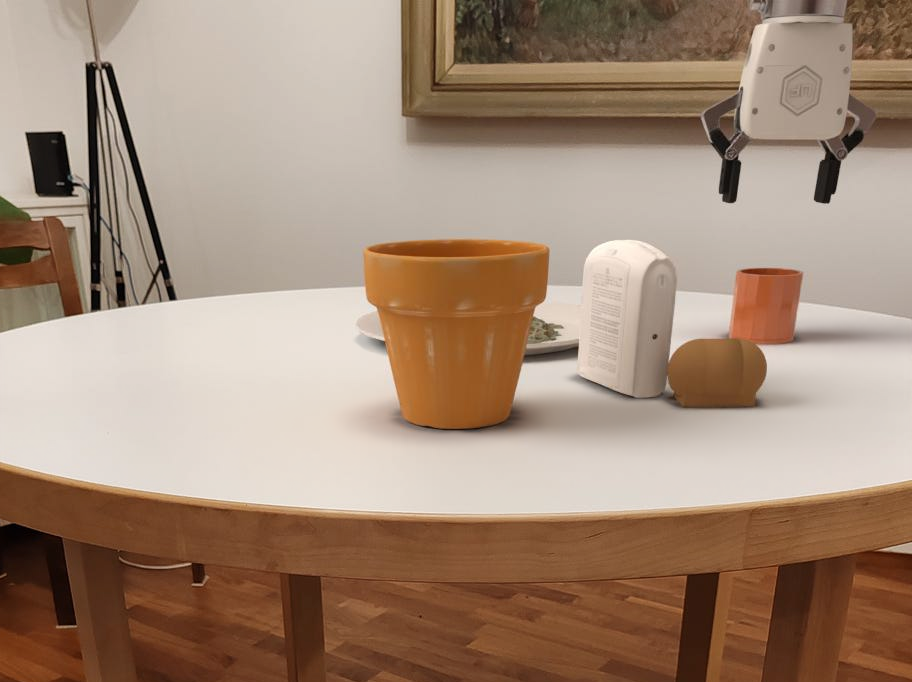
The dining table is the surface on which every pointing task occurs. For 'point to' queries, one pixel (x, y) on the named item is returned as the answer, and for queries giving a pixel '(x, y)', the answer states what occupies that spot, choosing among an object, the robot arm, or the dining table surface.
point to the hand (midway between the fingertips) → (775, 202)
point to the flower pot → (456, 323)
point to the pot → (765, 305)
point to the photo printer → (627, 317)
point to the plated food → (547, 334)
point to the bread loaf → (717, 373)
